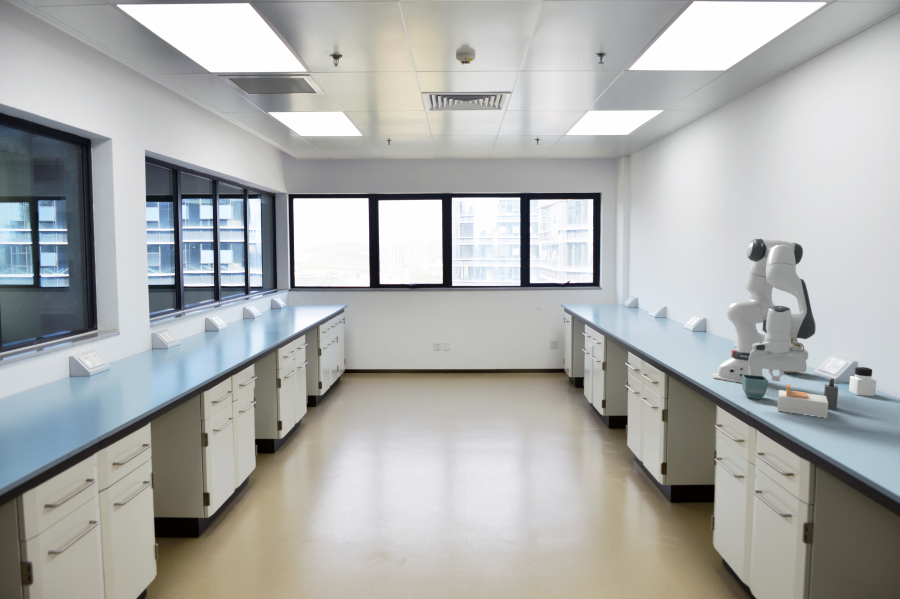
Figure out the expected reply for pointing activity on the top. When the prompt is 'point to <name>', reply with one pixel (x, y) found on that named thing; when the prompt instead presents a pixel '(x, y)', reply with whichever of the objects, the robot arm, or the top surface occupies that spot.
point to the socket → (803, 404)
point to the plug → (831, 394)
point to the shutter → (795, 393)
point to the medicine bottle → (862, 382)
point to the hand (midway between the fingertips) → (775, 380)
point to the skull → (795, 345)
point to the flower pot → (754, 386)
